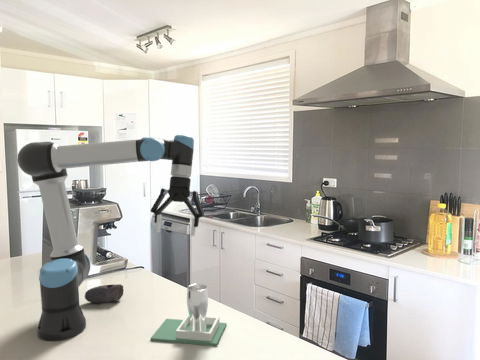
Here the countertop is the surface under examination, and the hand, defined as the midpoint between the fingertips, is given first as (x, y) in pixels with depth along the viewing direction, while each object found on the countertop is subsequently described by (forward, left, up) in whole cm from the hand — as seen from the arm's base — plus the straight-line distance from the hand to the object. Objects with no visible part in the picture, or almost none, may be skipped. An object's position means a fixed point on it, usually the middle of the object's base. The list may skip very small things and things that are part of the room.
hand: (175, 234), depth 146 cm
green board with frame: (+10, -15, -30) cm, 35 cm away
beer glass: (+13, -15, -29) cm, 35 cm away
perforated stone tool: (-32, +4, -30) cm, 44 cm away
